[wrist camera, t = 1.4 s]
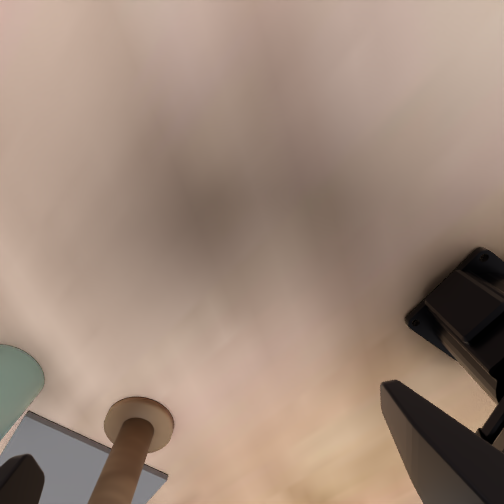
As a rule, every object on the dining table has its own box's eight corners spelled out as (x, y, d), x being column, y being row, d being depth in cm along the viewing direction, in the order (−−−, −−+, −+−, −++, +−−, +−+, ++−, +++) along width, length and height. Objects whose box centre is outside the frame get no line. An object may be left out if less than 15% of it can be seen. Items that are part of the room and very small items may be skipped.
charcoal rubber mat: (168, 475, 26) (166, 480, 26) (103, 546, 30) (101, 552, 29) (28, 411, 24) (24, 415, 23) (-25, 497, 27) (-29, 502, 27)
